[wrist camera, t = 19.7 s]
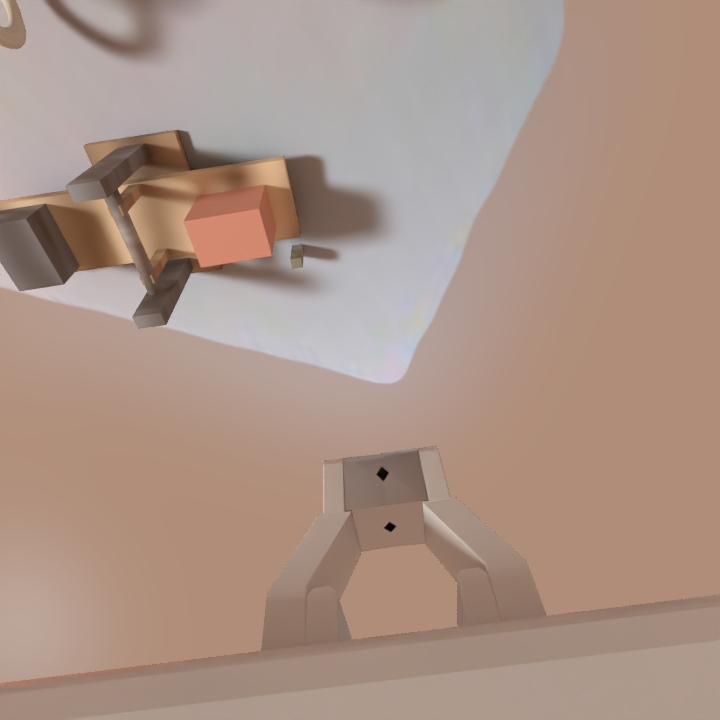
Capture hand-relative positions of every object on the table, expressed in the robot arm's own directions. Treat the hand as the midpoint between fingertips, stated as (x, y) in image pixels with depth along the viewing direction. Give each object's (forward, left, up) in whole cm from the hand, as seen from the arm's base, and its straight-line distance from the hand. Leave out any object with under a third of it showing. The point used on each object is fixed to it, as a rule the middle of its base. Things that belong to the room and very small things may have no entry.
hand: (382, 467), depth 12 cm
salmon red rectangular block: (+4, -10, -34) cm, 36 cm away
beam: (+4, -18, -35) cm, 40 cm away
